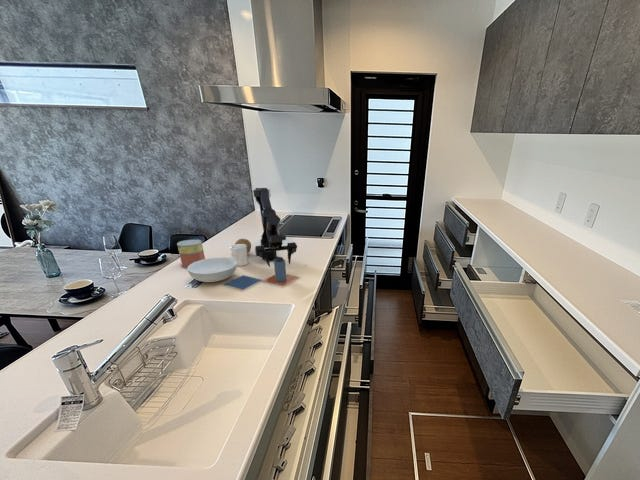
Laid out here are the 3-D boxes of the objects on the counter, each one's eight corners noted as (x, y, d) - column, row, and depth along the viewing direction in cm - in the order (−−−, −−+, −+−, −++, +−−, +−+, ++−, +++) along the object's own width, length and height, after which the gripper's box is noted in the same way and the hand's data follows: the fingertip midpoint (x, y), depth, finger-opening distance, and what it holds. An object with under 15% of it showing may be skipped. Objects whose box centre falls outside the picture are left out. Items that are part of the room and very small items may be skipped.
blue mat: (223, 285, 138) (223, 284, 138) (243, 276, 149) (243, 275, 148) (243, 290, 134) (242, 289, 134) (262, 280, 144) (262, 279, 144)
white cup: (251, 262, 166) (249, 244, 162) (241, 267, 159) (239, 249, 155) (240, 260, 168) (237, 243, 164) (229, 265, 162) (226, 247, 158)
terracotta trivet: (262, 282, 143) (262, 281, 143) (279, 273, 153) (279, 272, 153) (282, 287, 138) (282, 286, 138) (298, 277, 148) (298, 277, 148)
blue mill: (273, 281, 143) (271, 259, 139) (280, 277, 147) (278, 256, 143) (282, 283, 141) (279, 260, 137) (288, 279, 145) (286, 257, 141)
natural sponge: (242, 259, 171) (239, 241, 167) (232, 255, 175) (229, 239, 171) (255, 254, 178) (253, 238, 174) (245, 251, 182) (243, 235, 178)
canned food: (184, 261, 165) (179, 240, 160) (207, 259, 168) (203, 238, 163) (179, 268, 155) (174, 246, 150) (204, 266, 158) (199, 244, 154)
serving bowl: (182, 288, 134) (179, 274, 132) (199, 270, 153) (196, 257, 151) (232, 286, 138) (229, 272, 135) (242, 269, 157) (240, 256, 154)
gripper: (252, 228, 135) (258, 260, 130) (294, 225, 143) (301, 254, 138) (253, 241, 145) (258, 270, 140) (292, 237, 152) (298, 265, 148)
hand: (279, 265), depth 141 cm, fingers open, 9 cm apart
